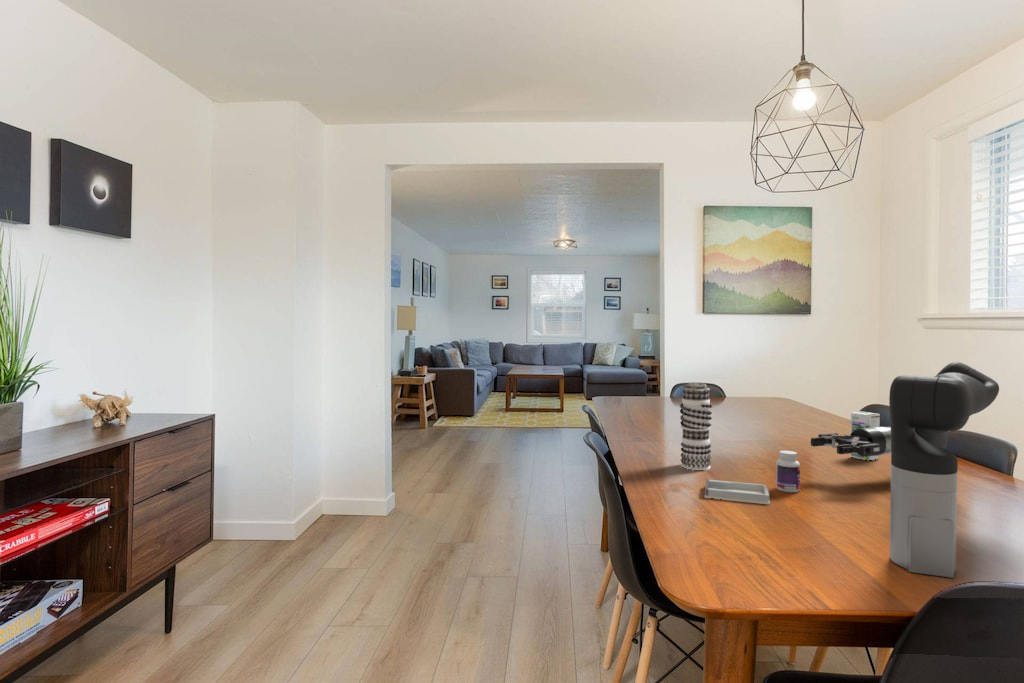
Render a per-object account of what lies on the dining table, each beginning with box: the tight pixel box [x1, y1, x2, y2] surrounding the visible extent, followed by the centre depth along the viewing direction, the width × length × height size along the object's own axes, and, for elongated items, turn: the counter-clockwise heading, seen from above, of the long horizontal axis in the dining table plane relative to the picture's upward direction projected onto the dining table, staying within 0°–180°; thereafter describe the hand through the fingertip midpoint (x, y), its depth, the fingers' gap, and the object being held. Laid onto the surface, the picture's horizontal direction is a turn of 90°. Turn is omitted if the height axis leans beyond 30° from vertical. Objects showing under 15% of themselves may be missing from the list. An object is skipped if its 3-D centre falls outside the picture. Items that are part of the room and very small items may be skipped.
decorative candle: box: [679, 382, 713, 471], centre depth 158 cm, size 9×9×25 cm
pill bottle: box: [775, 450, 801, 493], centre depth 136 cm, size 5×5×10 cm
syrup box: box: [849, 410, 881, 462], centre depth 166 cm, size 6×6×14 cm
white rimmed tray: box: [704, 478, 771, 506], centre depth 132 cm, size 14×10×2 cm
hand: (824, 446), depth 139 cm, fingers open, 8 cm apart
